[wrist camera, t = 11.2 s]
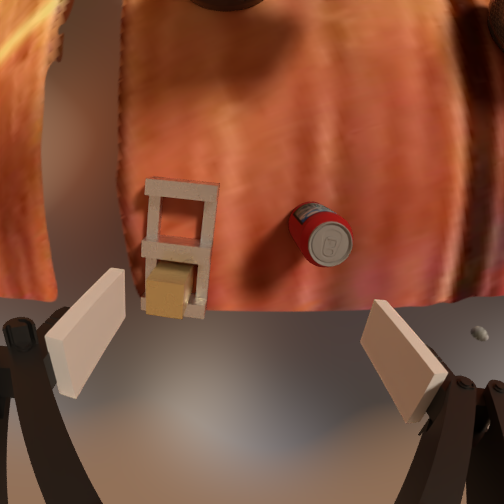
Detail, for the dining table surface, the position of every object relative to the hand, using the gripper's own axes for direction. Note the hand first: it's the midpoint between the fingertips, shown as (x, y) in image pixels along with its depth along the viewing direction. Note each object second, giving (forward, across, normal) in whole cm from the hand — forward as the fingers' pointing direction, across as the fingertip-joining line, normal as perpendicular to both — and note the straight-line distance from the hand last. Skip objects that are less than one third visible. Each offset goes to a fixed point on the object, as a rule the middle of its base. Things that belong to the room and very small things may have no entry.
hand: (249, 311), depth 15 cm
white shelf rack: (+31, -9, -7) cm, 33 cm away
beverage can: (+32, +10, -1) cm, 33 cm away
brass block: (+32, -9, -12) cm, 35 cm away
